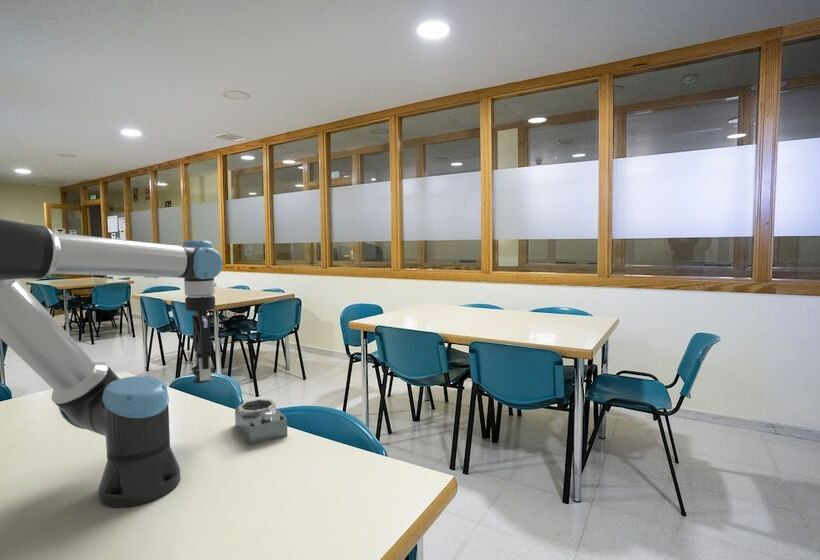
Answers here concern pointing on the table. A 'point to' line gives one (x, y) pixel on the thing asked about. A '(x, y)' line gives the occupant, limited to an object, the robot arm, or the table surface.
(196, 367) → the dark grey tapered piece
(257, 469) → the table surface
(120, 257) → the robot arm
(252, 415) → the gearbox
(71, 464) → the table surface
